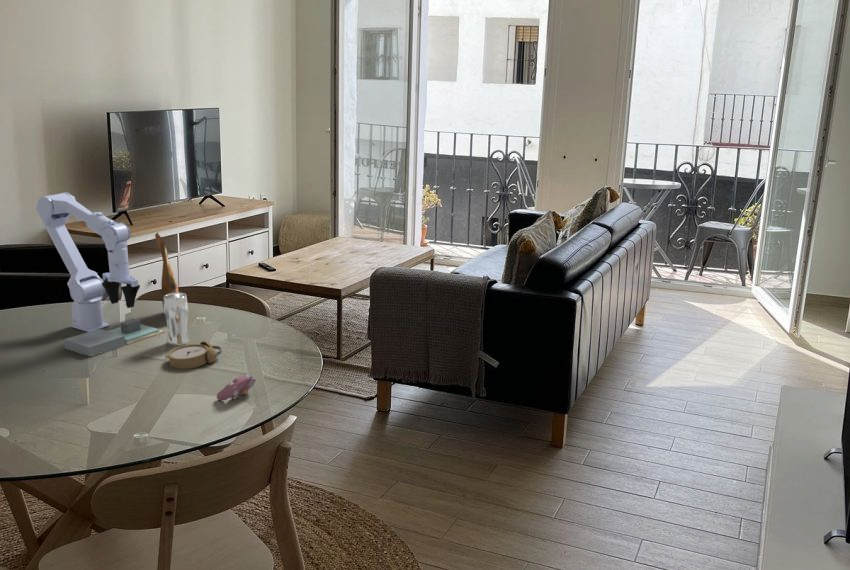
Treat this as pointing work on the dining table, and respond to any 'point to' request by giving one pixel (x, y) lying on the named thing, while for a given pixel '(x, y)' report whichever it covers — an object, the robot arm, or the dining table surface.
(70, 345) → the grey square slab
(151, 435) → the dining table surface
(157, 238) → the pancake mix bag
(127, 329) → the lid
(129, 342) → the cork pad
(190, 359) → the alarm clock
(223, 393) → the video game controller
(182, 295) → the beer glass
